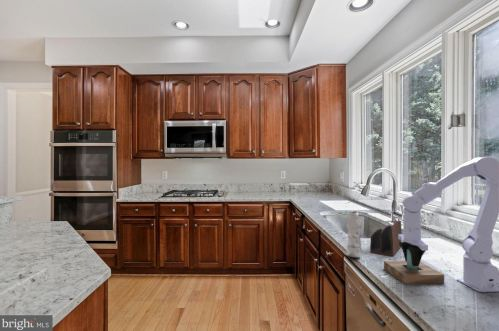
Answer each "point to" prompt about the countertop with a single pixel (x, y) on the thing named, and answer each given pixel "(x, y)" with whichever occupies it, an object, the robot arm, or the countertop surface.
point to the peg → (410, 262)
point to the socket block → (413, 273)
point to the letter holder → (386, 240)
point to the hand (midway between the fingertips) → (412, 263)
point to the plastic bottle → (354, 236)
